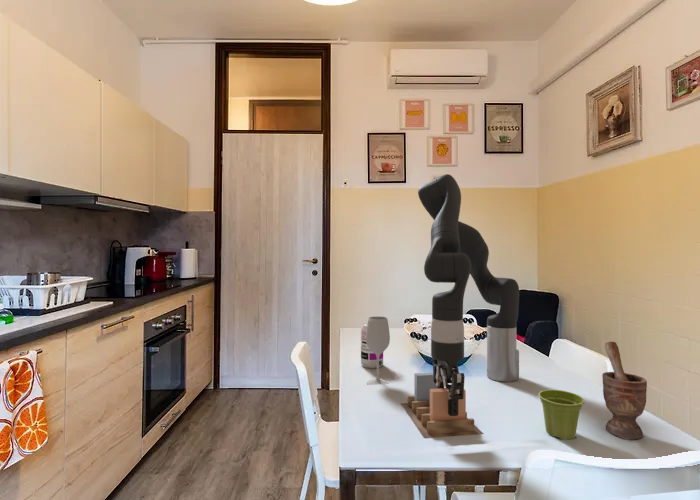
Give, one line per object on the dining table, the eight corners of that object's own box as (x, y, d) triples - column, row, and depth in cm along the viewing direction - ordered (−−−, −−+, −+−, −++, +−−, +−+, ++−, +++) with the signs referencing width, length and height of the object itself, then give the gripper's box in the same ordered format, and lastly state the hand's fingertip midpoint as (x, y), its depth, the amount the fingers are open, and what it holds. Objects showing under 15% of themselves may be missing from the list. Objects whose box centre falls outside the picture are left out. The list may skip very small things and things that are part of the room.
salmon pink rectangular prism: (462, 425, 96) (462, 387, 96) (465, 428, 94) (465, 390, 94) (429, 427, 95) (429, 389, 95) (432, 431, 93) (432, 392, 93)
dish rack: (449, 405, 112) (449, 391, 111) (483, 439, 92) (483, 422, 92) (400, 407, 110) (400, 393, 110) (424, 443, 90) (424, 426, 90)
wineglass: (388, 388, 125) (388, 320, 125) (364, 386, 126) (364, 319, 126) (391, 380, 132) (391, 316, 132) (368, 379, 134) (367, 315, 133)
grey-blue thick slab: (443, 405, 108) (443, 371, 108) (446, 408, 106) (446, 374, 106) (414, 407, 107) (414, 373, 107) (416, 410, 105) (416, 375, 105)
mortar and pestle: (584, 420, 101) (584, 341, 101) (613, 418, 103) (614, 339, 103) (623, 442, 90) (623, 352, 90) (656, 439, 92) (656, 351, 91)
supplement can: (385, 363, 152) (385, 323, 152) (379, 369, 144) (379, 327, 144) (364, 361, 154) (364, 322, 154) (358, 367, 147) (358, 326, 147)
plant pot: (593, 442, 90) (593, 403, 90) (553, 444, 89) (553, 405, 89) (567, 424, 99) (567, 389, 99) (530, 425, 99) (530, 390, 99)
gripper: (476, 344, 88) (476, 421, 88) (450, 331, 102) (450, 397, 102) (443, 345, 87) (443, 423, 87) (422, 332, 101) (422, 399, 101)
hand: (447, 409), depth 95 cm, fingers open, 6 cm apart
